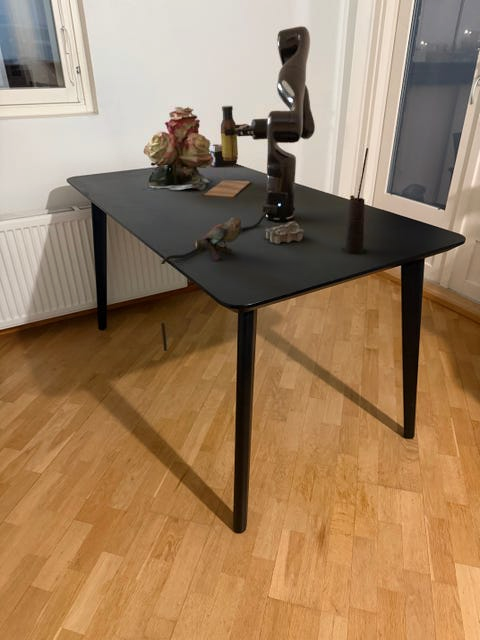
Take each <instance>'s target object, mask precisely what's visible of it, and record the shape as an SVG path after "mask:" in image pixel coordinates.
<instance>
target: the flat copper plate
mask: <svg viewBox="0 0 480 640" xmlns="http://www.w3.org/2000/svg"><path fill="white" fill-rule="evenodd" d="M250 184H251V181H244V180H232V179H231V180H230V179H223V180H221V181H220V182H219V183H218V184H216V185H214V186H213V187H212V188H211V189H209V190H208V191H206V192H205V193H204V196H205V197H207V196H208V197H220V198H231V199H232V198H235V197H236V196H237V195H238V194H239V193H240V192H242V190H244V189H245V188H246V187H247V186H248V185H250Z"/></svg>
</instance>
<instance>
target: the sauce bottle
mask: <svg viewBox="0 0 480 640" xmlns="http://www.w3.org/2000/svg"><path fill="white" fill-rule="evenodd" d="M233 107H234V106H233V105H222V106H221V111H222V121H221V123H220V139H221V140H220V141H221V143H220V144H222V156H223V160H224V161H235V160H237V161H238V158H239V153H238V152H239V150H238V136H235V135H230V136H226V135H225V129H234V130H235V129H236V125H237V124H236V121H235V119H234V116H233V110H234V109H233Z"/></svg>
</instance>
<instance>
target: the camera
mask: <svg viewBox="0 0 480 640" xmlns="http://www.w3.org/2000/svg"><path fill="white" fill-rule="evenodd" d="M209 149H210V152H209V153H210V155H212V157H213V163H212V164H211V165H210V167H213V168H217V167H223V166H228V165H234V164H237V163H238V159H237V160H235V161H224V160H223V156H222V143H219V144H218V143H217V144H216V143H215V144H214V143H213V144H210V146H209Z"/></svg>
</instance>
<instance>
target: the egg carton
mask: <svg viewBox="0 0 480 640" xmlns="http://www.w3.org/2000/svg"><path fill="white" fill-rule="evenodd" d="M264 229H265V233H266V235H265V238H266V239H267V240H269V241H270V243H273V244H277V245H278V244H280V243H282V242H283V243H291V241H297V242H300V241H302V240H303V236H304V233H305V231H304V229H302V228H300V226H299V224H298V223H297V222H296V220H294V221H288V222H286V223H285V224H281V225H280V226H273V227H271V228H264Z"/></svg>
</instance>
